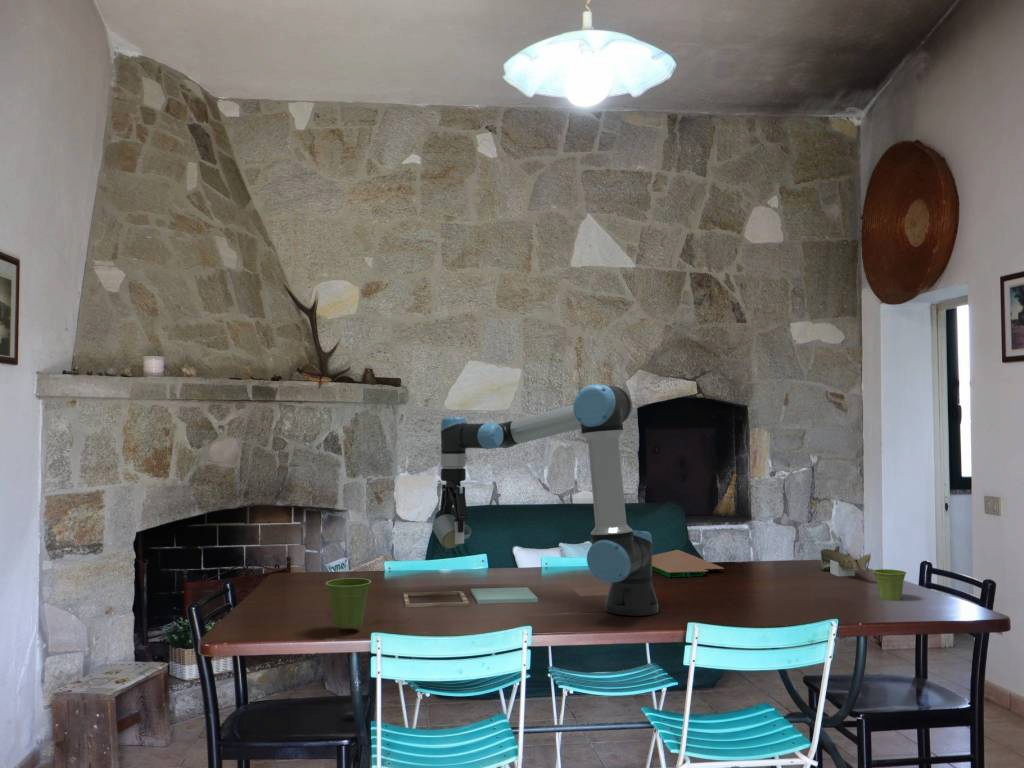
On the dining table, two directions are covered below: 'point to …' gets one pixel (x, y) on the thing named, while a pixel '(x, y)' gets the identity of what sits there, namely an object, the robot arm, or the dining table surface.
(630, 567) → the robot arm
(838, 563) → the wood carving
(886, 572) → the plant pot
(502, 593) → the sage board
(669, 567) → the tan flat piece
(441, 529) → the ceramic mug
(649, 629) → the dining table surface
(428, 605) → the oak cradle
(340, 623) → the plant pot
